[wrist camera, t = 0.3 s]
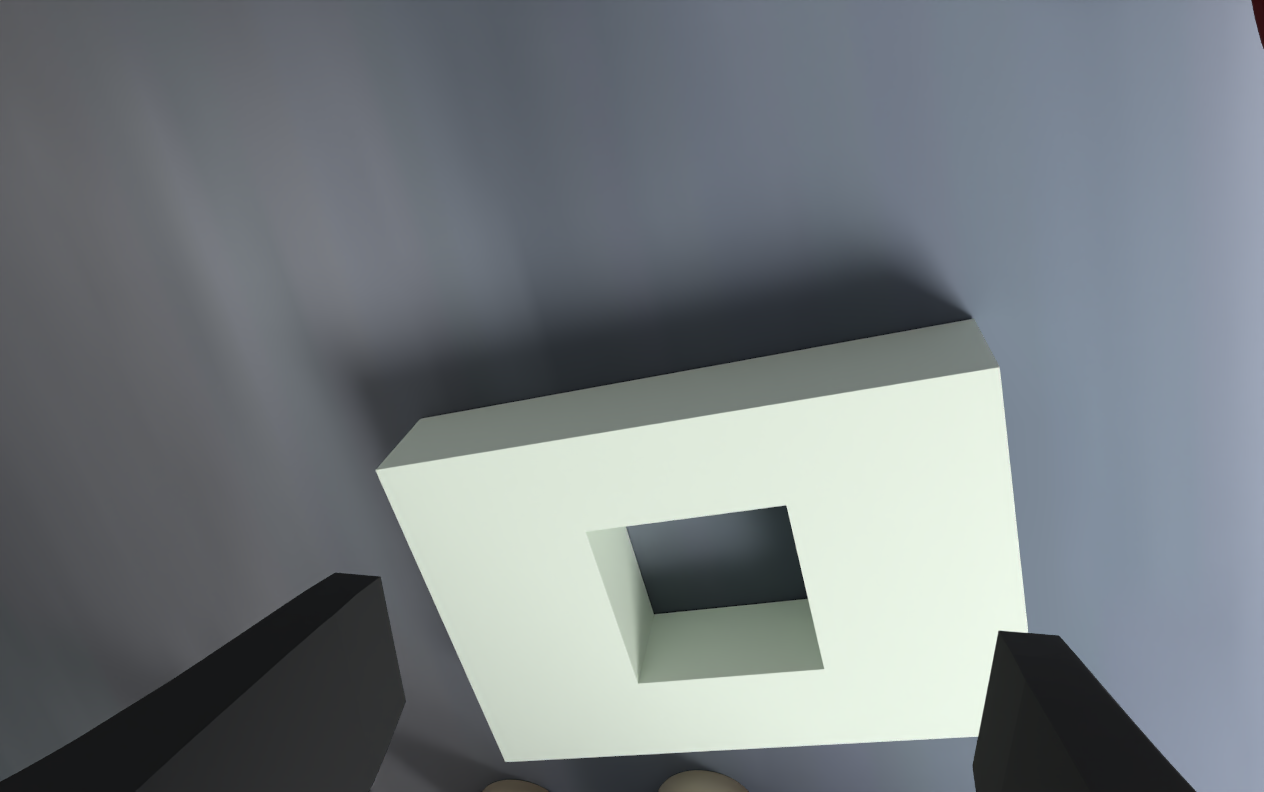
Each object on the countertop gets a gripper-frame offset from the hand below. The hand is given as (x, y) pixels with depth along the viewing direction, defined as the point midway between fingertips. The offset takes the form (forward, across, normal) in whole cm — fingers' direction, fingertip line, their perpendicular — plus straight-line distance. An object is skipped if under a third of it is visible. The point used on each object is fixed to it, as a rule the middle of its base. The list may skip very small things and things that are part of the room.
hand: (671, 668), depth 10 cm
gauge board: (+10, 0, +5) cm, 11 cm away
